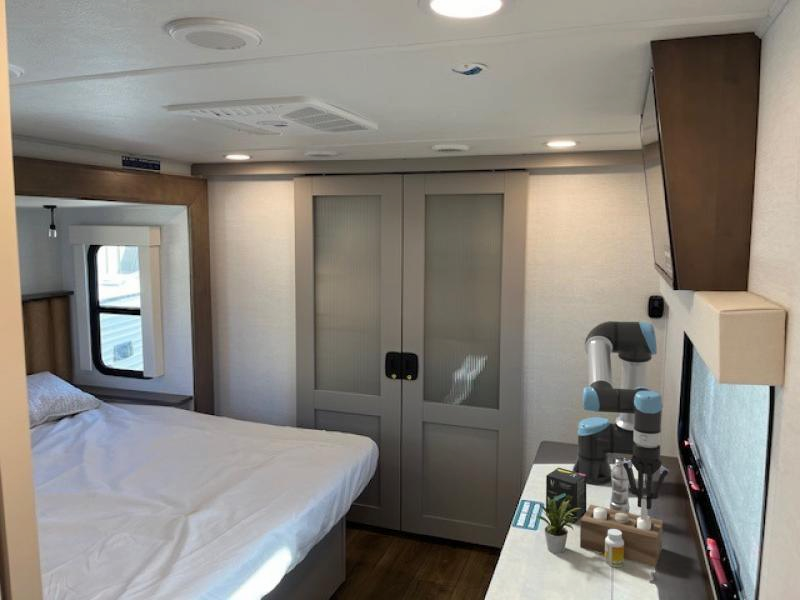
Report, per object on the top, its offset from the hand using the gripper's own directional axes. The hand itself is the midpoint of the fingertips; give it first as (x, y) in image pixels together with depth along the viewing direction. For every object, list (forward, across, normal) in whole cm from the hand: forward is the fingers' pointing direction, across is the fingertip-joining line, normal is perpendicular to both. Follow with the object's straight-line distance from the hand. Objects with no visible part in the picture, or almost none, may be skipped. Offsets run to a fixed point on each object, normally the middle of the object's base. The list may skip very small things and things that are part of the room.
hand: (644, 517), depth 185 cm
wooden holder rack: (+11, -6, 0) cm, 13 cm away
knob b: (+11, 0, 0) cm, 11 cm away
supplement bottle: (+12, -6, -10) cm, 16 cm away
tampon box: (+12, -27, +13) cm, 32 cm away
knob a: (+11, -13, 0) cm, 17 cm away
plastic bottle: (+12, -11, +22) cm, 27 cm away
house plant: (+12, -23, -12) cm, 29 cm away
